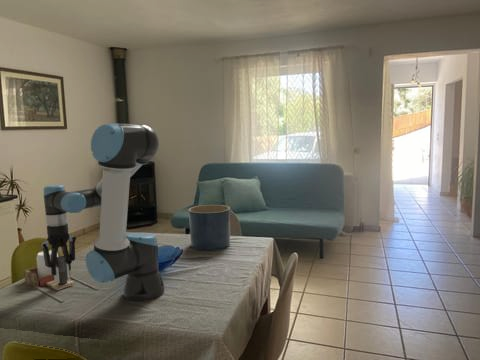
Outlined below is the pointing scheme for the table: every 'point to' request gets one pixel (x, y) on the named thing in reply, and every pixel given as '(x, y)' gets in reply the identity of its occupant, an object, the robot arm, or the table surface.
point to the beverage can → (43, 265)
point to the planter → (209, 227)
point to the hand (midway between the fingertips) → (62, 280)
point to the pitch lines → (59, 298)
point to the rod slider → (62, 276)
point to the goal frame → (32, 276)
